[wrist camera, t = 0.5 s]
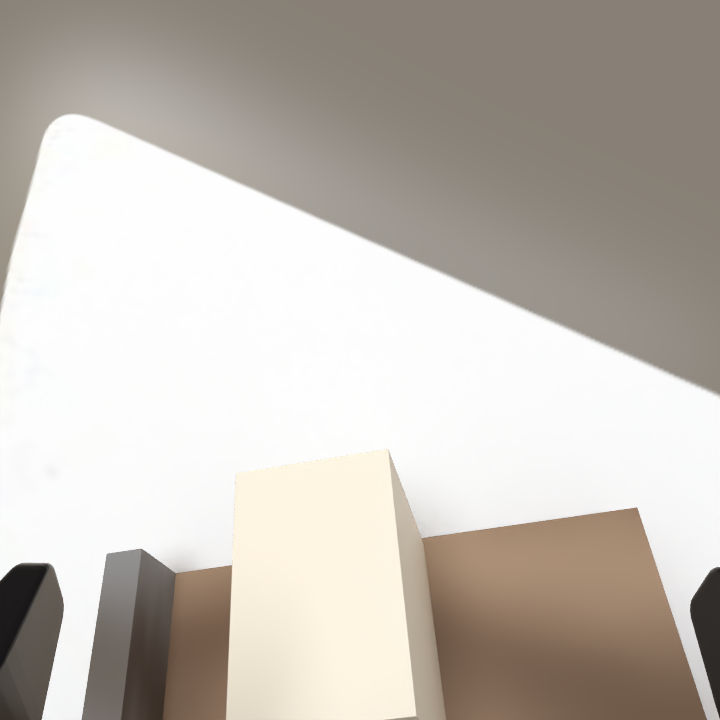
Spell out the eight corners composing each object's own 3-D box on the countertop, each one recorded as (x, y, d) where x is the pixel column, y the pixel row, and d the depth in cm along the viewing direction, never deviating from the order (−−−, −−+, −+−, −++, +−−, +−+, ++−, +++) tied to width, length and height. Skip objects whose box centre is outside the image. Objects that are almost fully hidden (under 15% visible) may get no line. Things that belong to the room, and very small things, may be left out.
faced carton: (423, 544, 23) (388, 448, 17) (449, 749, 19) (416, 716, 13) (299, 561, 23) (225, 475, 18) (302, 764, 20) (211, 738, 14)
